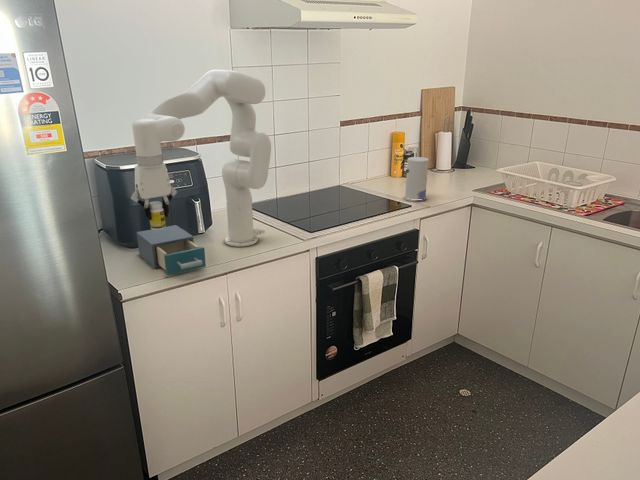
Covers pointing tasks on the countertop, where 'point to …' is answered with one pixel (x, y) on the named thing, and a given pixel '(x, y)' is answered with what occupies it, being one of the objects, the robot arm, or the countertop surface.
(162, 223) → the supplement bottle
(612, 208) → the countertop surface
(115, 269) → the countertop surface
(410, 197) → the container
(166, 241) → the drawer cabinet
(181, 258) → the drawer
